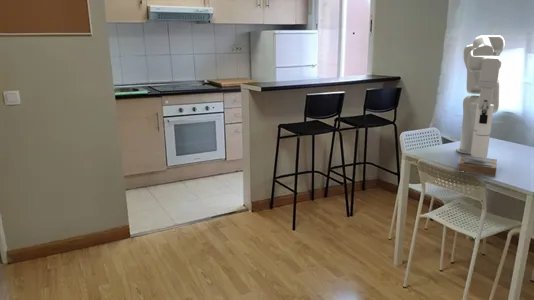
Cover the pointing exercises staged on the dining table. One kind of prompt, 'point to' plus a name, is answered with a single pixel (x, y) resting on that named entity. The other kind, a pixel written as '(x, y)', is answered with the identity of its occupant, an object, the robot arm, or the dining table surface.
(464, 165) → the walnut base
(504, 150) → the dining table surface
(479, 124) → the cylindrical container
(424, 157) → the dining table surface
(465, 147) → the robot arm
